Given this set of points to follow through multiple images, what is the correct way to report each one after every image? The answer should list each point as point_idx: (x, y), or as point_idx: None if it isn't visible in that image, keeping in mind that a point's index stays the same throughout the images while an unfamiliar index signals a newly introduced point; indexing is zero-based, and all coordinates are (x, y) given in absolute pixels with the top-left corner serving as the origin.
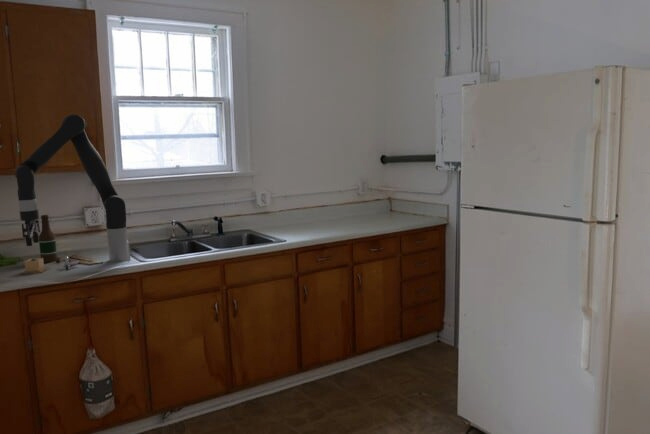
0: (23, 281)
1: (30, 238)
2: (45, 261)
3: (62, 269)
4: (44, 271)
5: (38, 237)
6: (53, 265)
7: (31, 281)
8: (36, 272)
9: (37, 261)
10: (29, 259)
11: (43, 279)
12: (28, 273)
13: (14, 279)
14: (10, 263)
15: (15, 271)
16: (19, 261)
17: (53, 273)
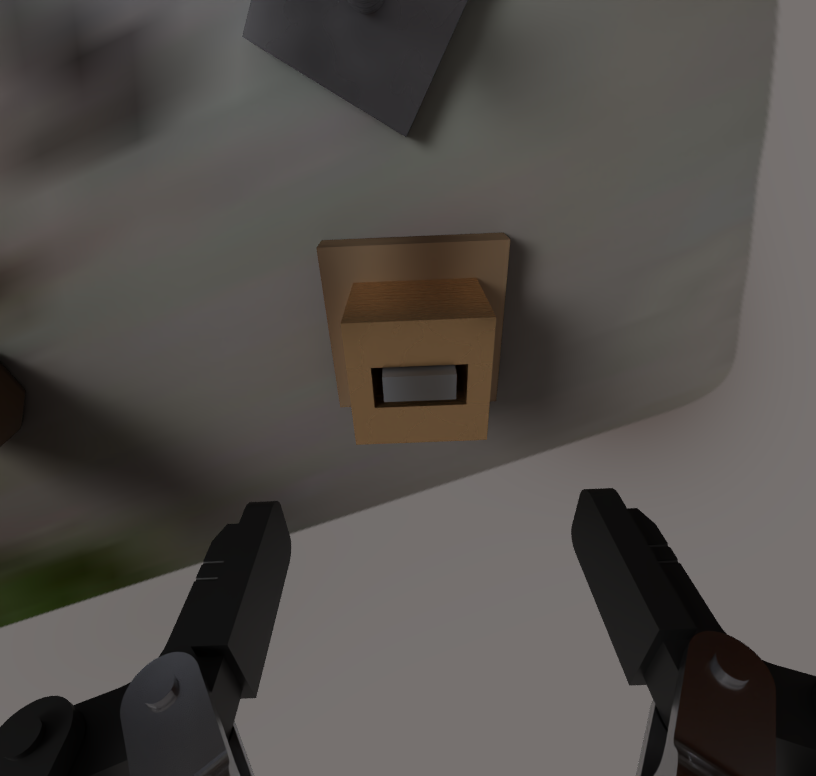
0: (688, 308)
1: (684, 620)
2: (18, 398)
3: (405, 46)
4: (454, 239)
5: (226, 576)
6: (110, 286)
7: (731, 238)
8: (504, 292)
9: (494, 324)
10: (395, 431)
11: (713, 145)
12: (498, 351)
13: (575, 398)
14: (88, 578)
15: (315, 480)
16: (25, 558)
17: (468, 140)
